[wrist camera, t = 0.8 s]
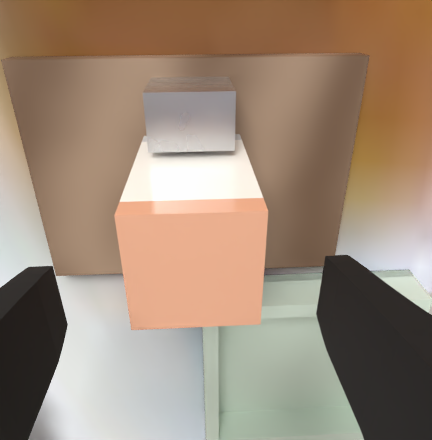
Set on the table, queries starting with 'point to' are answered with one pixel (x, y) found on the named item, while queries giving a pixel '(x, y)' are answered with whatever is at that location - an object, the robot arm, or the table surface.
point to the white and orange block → (192, 239)
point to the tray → (283, 367)
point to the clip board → (113, 126)
